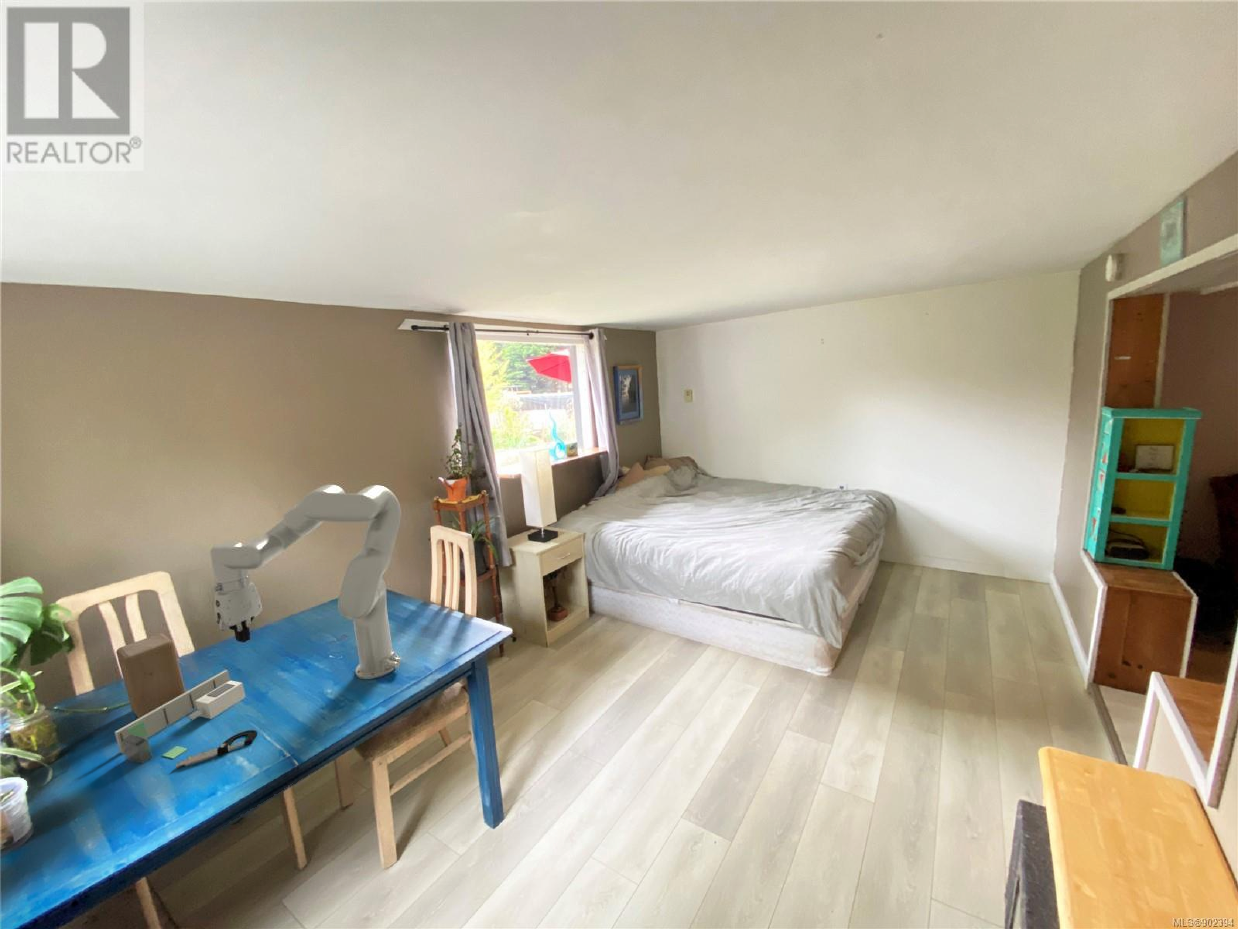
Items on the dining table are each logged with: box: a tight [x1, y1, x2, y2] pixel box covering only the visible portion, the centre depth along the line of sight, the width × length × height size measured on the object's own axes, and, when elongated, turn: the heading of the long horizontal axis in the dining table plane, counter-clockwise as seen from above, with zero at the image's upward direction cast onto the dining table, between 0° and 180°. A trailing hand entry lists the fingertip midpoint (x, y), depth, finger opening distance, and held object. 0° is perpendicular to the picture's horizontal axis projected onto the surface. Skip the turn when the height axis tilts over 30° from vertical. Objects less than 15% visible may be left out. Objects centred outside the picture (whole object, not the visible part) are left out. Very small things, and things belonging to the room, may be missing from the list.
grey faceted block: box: [122, 735, 153, 765], centre depth 112 cm, size 6×2×6 cm, turn 74°
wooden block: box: [115, 632, 186, 719], centre depth 130 cm, size 10×10×20 cm
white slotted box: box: [188, 679, 246, 721], centre depth 129 cm, size 5×12×5 cm, turn 164°
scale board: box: [114, 669, 231, 754], centre depth 126 cm, size 1×26×6 cm, turn 164°
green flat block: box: [162, 745, 188, 760], centre depth 114 cm, size 4×3×1 cm
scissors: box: [175, 729, 258, 769], centre depth 115 cm, size 15×7×2 cm, turn 120°
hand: (243, 640), depth 136 cm, fingers closed
